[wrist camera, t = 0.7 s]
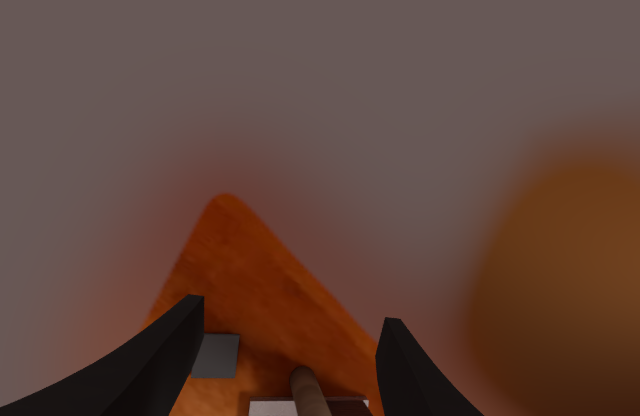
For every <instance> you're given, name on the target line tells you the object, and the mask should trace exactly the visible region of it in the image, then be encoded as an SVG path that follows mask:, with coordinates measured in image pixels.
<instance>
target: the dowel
mask: <svg viewBox="0 0 640 416" xmlns="http://www.w3.org/2000/svg"><path fill="white" fill-rule="evenodd" d="M289 382H290V387H291V391H292V395H293V399H294V403H295V407H296V411H297V415H298V416H332V415H331V412H330V410H329V408H328V405H327V403H326V401H325V398H324V396H323V394H322V391H321V389H320V387H319V384H318V382H317V380H316V377H315V375H314V373H313V371H312V370H311V369H310V368H308V367H305V366H301V367H298V368H296V369H295V370H294V371H293V372H292V373H291V375H290V380H289Z"/></svg>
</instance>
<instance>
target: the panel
mask: <svg viewBox="0 0 640 416" xmlns="http://www.w3.org/2000/svg"><path fill="white" fill-rule="evenodd" d="M324 398H325V401H326V403H327V405H328V408H329V410H330V412H331V415H332V416H373V415H372V414H371V412H370V410H369V409H368V399H367V397H366V396H328V397H324ZM248 416H298V415H297V411H296V407H295V403H294V399H293V397H250V405H249V414H248Z"/></svg>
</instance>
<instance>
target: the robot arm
mask: <svg viewBox="0 0 640 416" xmlns="http://www.w3.org/2000/svg"><path fill="white" fill-rule="evenodd" d="M203 339H204V296H198V295H190V294H188V295H187V296H186V297H184V298H183V299H182V300H181V301H179V302H178V303H177V304H176V305H174V306H173V307H172V308H171V309H170V310H168V311H167V312H166V313H165V314H163V315H162V316H161V317H160V318H158V319H157V320H156V321H154V322H153V323H152V324H151V325H149V326H148V327H147V328H145V329H144V330H143V331H141V332H140V333H139V334H137V335H136V336H134V337H133V338H132V339H130V340H129V341H127V342H126V343H124V344H123V345H122V346H120V347H119V348H117V349H116V350H114V351H113V352H111V353H109V354H108V355H106V356H105V357H103V358H101V359H99V360H98V361H96V362H94V363H93V364H91V365H89V366H87V367H85V368H83V369H82V370H80V371H78V372H76V373H74V374H72V375H70V376H68V377H66V378H65V379H63V380H61V381H59V382H57V383H55V384H53V385H50V386H48V387H46V388H44V389H42V390H40V391H38V392H35V393H33V394H31V395H29V396H27V397H24V398H22V399H20V400H17V401H15V402H13V403H10V404H8V405H5V406H3V407H0V416H168V415H169V413H170V411H171V409H172V407H173V405H174V403H175V401H176V399H177V397H178V395H179V393H180V391H181V389H182V387H183V385H184V383H185V381H186V379H187V377H188V375H189V373H190V371H191V369H192V367H193V365H194V363H195V361H196V358H197V355H198V353H199V350H200V347H201V344H202V341H203ZM375 359H376V370H377V380H378V386H379V391H380V396H381V400H382V405H383V410H384V414H385V416H484V415H483V414H482V413H481V412H480V411H478V410H477V409H476V408H475V407H474V406H473V405H472V404H471V403H470V402H469V401H468V400H467V399H466V398H465V397H464V396H463V395H462V394H461V393H460V392H459V391H458V390H457V389H456V388H455V387H454V386H453V385H452V384H451V382H450V381H449V380H448V379H447V378H446V377H445V376H444V375H443V374H442V372H441V371H440V370H439V369H438V368H437V366H436V365H435V364H434V363H433V361H432V360H431V359H430V358H429V357H428V355H427V354H426V353H425V352H424V350H423V349H422V347H421V346H420V345H419V344H418V342H417V341H416V339H415V338H414V337H413V335H412V334H411V333H410V331H409V330H408V329H407V327H406V326H405V325H404V323H403V322H402V321H401V319H397V318H388V317H385V320H384V324H383V328H382V332H381V336H380V340H379V344H378V347H377V351H376V355H375Z"/></svg>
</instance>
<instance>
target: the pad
mask: <svg viewBox="0 0 640 416" xmlns="http://www.w3.org/2000/svg"><path fill="white" fill-rule="evenodd" d="M239 335H240V334H209V333H204V339H203V341H202V344H201V347H200V350H199V353H198V355H197V358H196V361H195V363H194V365H193V367H192V374H191V378H235V371H236V362H237V353H238V344H239Z"/></svg>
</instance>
